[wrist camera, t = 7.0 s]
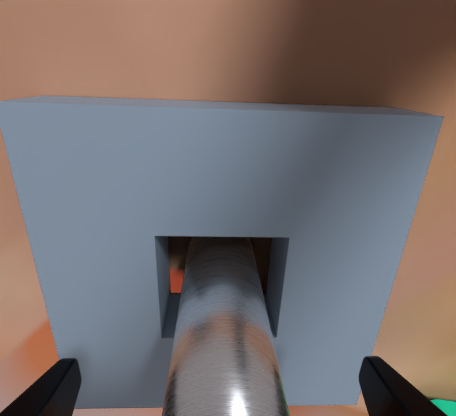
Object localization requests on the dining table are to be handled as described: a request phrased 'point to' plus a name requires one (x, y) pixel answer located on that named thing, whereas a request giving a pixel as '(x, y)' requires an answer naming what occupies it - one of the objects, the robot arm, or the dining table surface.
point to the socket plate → (214, 226)
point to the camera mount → (446, 406)
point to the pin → (223, 337)
